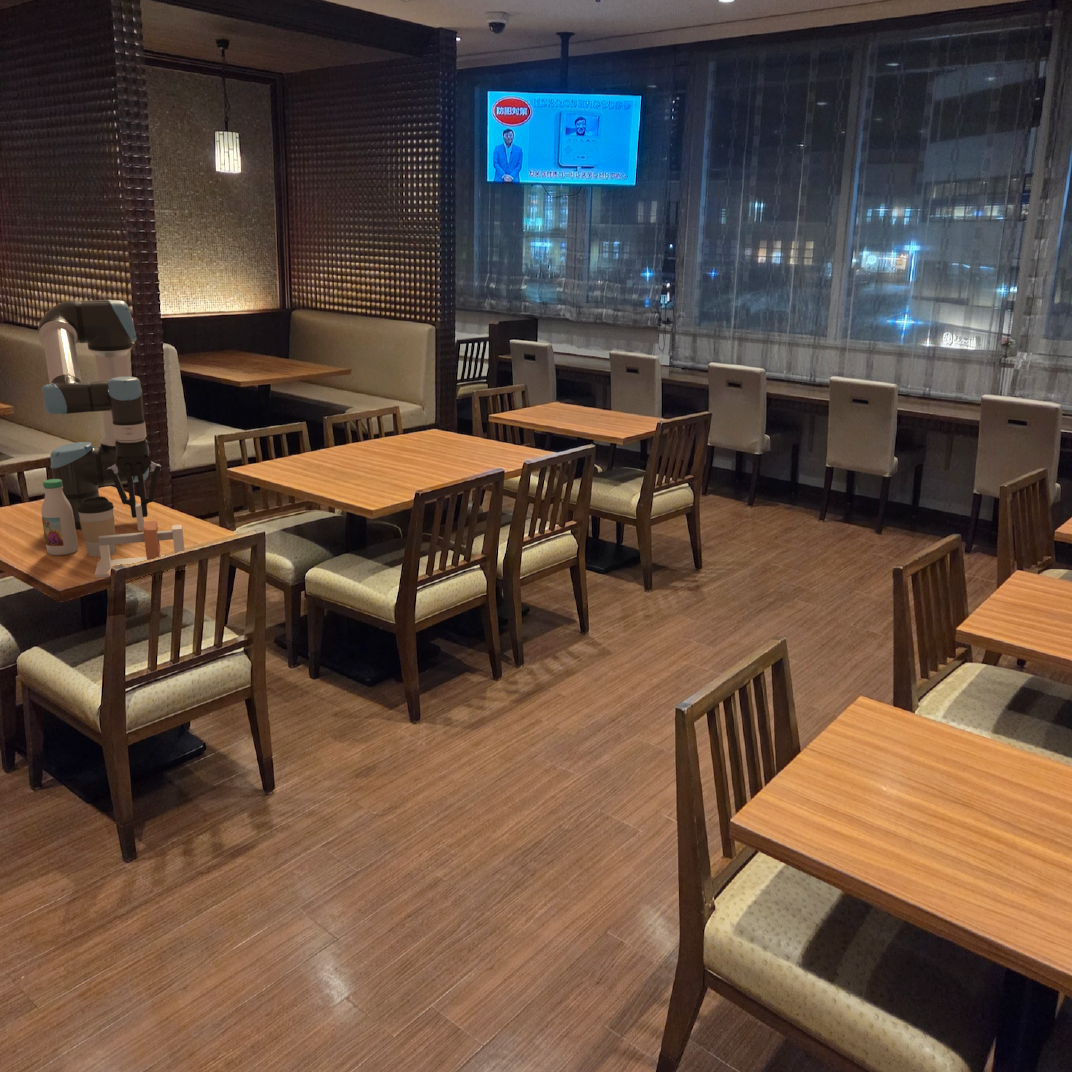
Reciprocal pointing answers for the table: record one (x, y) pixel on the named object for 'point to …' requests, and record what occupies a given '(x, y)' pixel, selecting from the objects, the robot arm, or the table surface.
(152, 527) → the notched orange block
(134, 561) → the rail
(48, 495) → the milk bottle
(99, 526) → the coffee cup
